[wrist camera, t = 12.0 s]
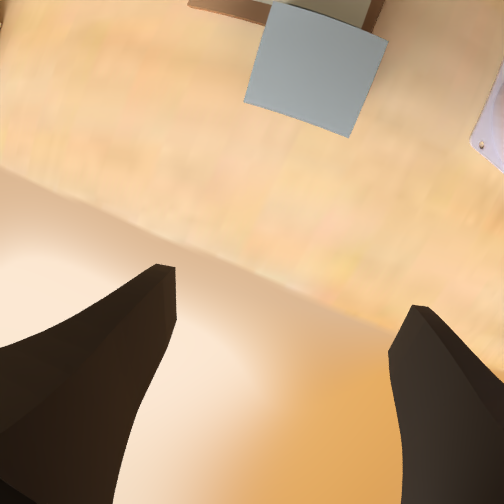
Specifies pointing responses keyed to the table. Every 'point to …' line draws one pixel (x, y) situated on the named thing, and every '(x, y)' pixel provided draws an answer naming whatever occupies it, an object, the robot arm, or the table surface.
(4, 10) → the table surface
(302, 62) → the cube
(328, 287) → the table surface
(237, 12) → the tower base
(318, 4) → the tower top
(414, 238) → the table surface
